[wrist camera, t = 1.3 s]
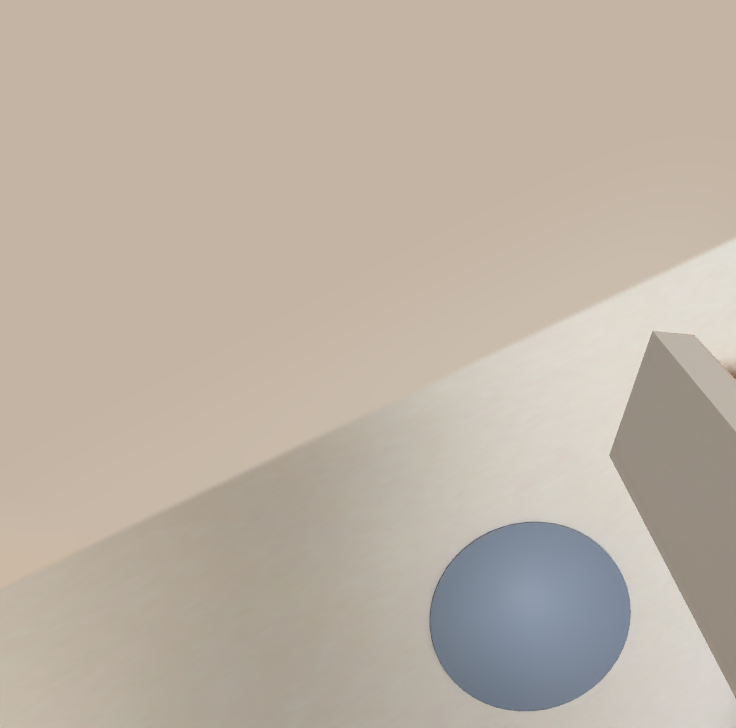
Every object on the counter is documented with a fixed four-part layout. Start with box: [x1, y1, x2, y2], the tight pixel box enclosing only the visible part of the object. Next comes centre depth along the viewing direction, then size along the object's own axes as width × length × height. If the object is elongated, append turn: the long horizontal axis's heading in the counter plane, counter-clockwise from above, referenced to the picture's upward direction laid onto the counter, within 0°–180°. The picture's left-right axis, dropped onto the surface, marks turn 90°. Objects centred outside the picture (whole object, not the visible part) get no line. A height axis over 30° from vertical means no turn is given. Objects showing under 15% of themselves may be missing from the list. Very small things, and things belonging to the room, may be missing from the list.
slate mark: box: [430, 522, 631, 711], centre depth 45 cm, size 13×13×1 cm
